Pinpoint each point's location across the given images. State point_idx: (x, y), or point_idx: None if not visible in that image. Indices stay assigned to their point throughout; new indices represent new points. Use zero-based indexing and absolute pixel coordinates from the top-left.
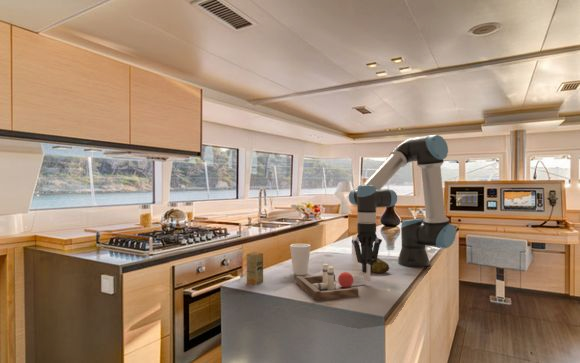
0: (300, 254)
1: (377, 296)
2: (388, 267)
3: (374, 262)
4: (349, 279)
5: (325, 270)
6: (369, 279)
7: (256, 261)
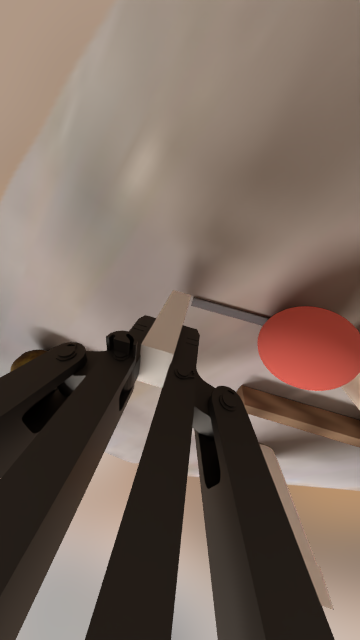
0: (301, 543)
1: (339, 33)
2: (20, 356)
3: (82, 351)
4: (338, 320)
5: None
6: (177, 294)
7: None
